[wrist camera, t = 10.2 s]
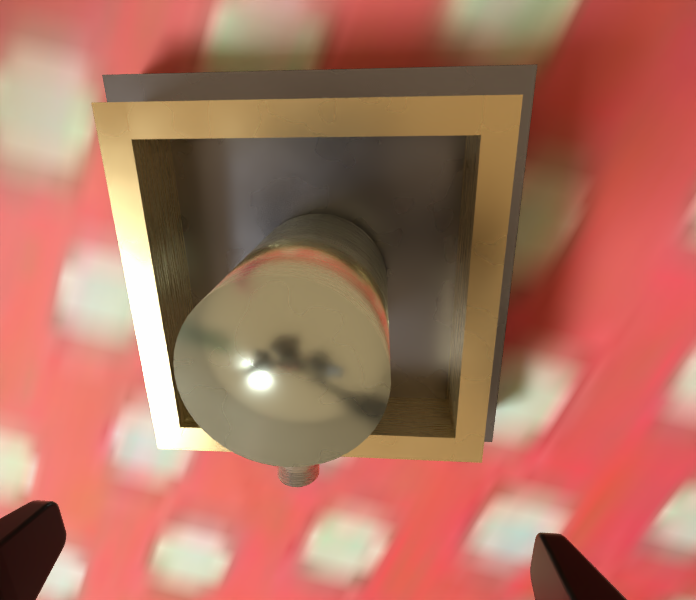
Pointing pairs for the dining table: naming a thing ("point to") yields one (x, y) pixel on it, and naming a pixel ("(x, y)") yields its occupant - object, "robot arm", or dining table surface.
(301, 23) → the dining table surface
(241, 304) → the spout can
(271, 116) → the open square box
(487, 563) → the dining table surface
